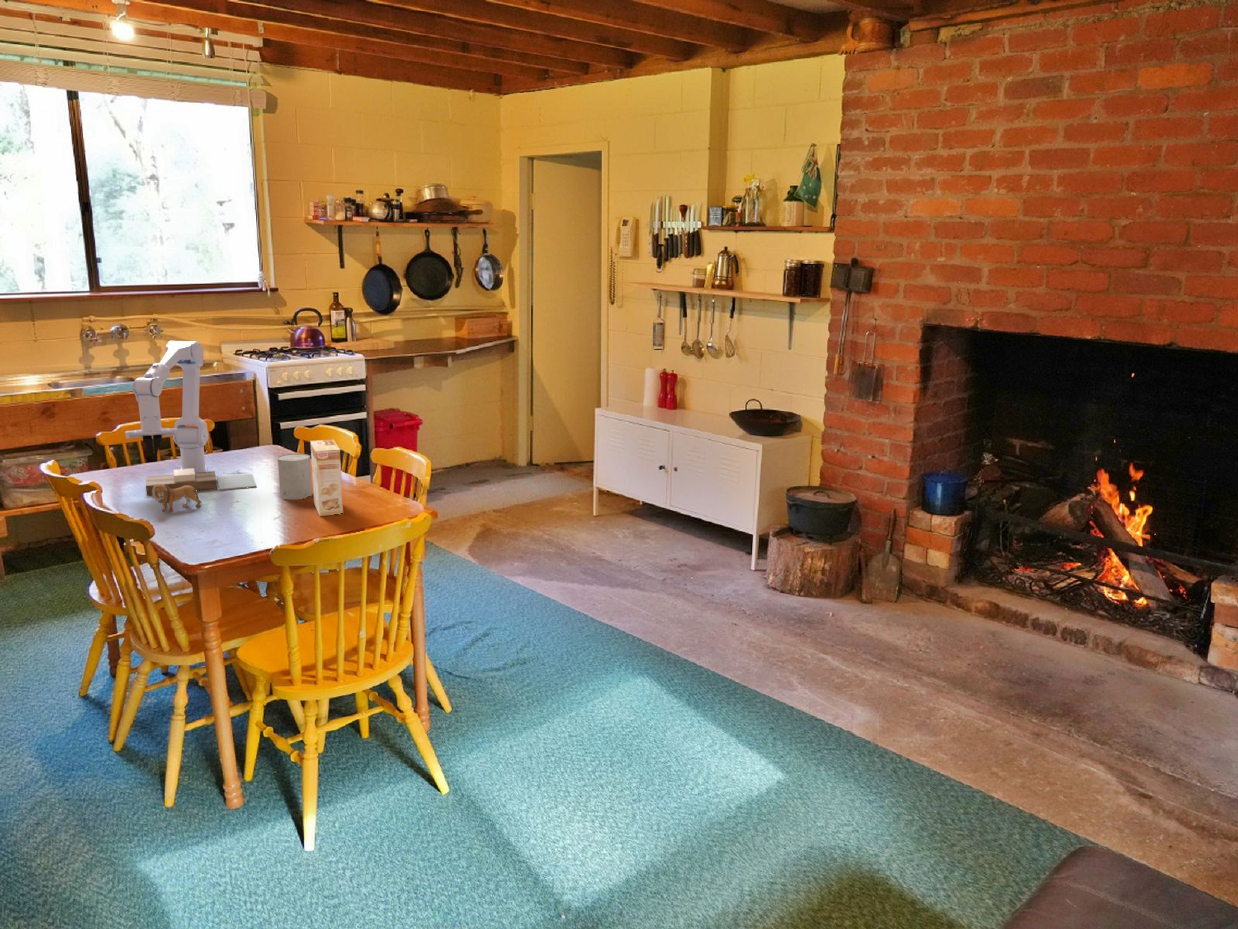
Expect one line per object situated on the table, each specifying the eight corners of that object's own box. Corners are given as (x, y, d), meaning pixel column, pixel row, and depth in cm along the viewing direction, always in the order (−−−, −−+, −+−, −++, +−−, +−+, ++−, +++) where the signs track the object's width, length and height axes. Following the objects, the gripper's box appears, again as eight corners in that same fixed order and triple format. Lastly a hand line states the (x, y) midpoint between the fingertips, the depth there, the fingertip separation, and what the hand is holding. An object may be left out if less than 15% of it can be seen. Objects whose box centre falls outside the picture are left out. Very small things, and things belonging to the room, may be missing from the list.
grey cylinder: (275, 494, 291) (273, 455, 288) (306, 489, 297) (303, 452, 294) (285, 501, 284) (283, 462, 281) (316, 496, 290) (314, 458, 287)
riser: (147, 485, 297) (146, 476, 297) (215, 479, 306) (214, 471, 305) (146, 495, 287) (145, 486, 286) (217, 489, 295) (216, 480, 295)
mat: (216, 478, 308) (216, 476, 308) (252, 475, 312) (252, 473, 312) (219, 490, 294) (219, 489, 294) (256, 487, 298) (256, 485, 298)
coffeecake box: (344, 514, 273) (340, 449, 268) (318, 516, 270) (314, 451, 265) (337, 500, 286) (334, 438, 281) (313, 503, 283) (309, 440, 278)
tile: (174, 475, 298) (173, 469, 298) (194, 474, 301) (194, 468, 300) (174, 482, 291) (173, 475, 291) (195, 480, 294) (194, 474, 293)
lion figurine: (160, 517, 266) (157, 486, 264) (149, 513, 269) (146, 483, 267) (207, 505, 278) (204, 476, 276) (196, 502, 281) (193, 473, 279)
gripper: (123, 420, 281) (128, 463, 284) (176, 417, 287) (180, 459, 290) (124, 415, 287) (128, 458, 291) (176, 413, 293) (180, 454, 297)
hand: (154, 459), depth 291 cm, fingers closed
